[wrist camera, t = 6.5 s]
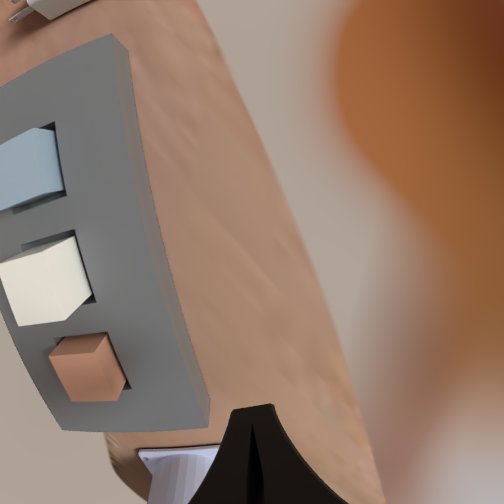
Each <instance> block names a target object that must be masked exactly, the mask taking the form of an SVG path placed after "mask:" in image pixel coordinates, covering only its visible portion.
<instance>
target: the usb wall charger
mask: <svg viewBox="0 0 504 504" xmlns="http://www.w3.org/2000/svg"><path fill="white" fill-rule="evenodd" d="M10 1H11V2H13V3H14V4H15V3H17V2H19V1H20V0H16V1H15V0H10ZM26 1H27V3H28V4H29V6H28V7H26V8H25V9H23V10H22V11H20V12H18V13H17V14H16V15H14V16H13V17H12V18H10V19H9V21H10V22H12V23H15V22H17V21H18V20H20V19H22V18H23V17H25V16H27V15H28V14H30V13H31V12H33V11H35V10H36V11H38V12H39V13H40V14H42V15H43V16H45V17H46V18H47V19H49V20H52V19H54V18H56V17H58V16H60V15H62V14H63V13H65V12H67V11H69V10H71V9H73V8H75V7H77V6H80V5H82V4H84V3H86V2H88V1H90V0H26ZM16 17H17V18H18V19H16V20H12V19H13V18H16Z"/></svg>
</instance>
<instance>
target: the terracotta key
mask: <svg viewBox="0 0 504 504" xmlns="http://www.w3.org/2000/svg"><path fill="white" fill-rule="evenodd" d="M49 359H50V361H51V363H52V365H53V367H54V369H55V371H56V373H57V375H58V377H59V379H60V381H61V382H62V384H63V386H64V388H65V390H66V392H67V394H68V395H69V397H70V399H71V401H72V402H93V401H117V400H118V398H119V395H120V393H121V391H122V389H123V387H124V384H125V382H126V380H127V377H126V375H125V372H124V370H123V368H122V366H121V363H120V361H119V359H118V356H117V354H116V352H115V349H114V347H113V344H112V342H111V339H110V337H109V334H108V332H99V333H91V334H83V335H74V336H66V337H65V338H64V339H63V340H62V341H61V342H60V343H59V344H58V346H57V347H56V348H55V349H54V350H53V351H52V353H51V354H50V355H49Z"/></svg>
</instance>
